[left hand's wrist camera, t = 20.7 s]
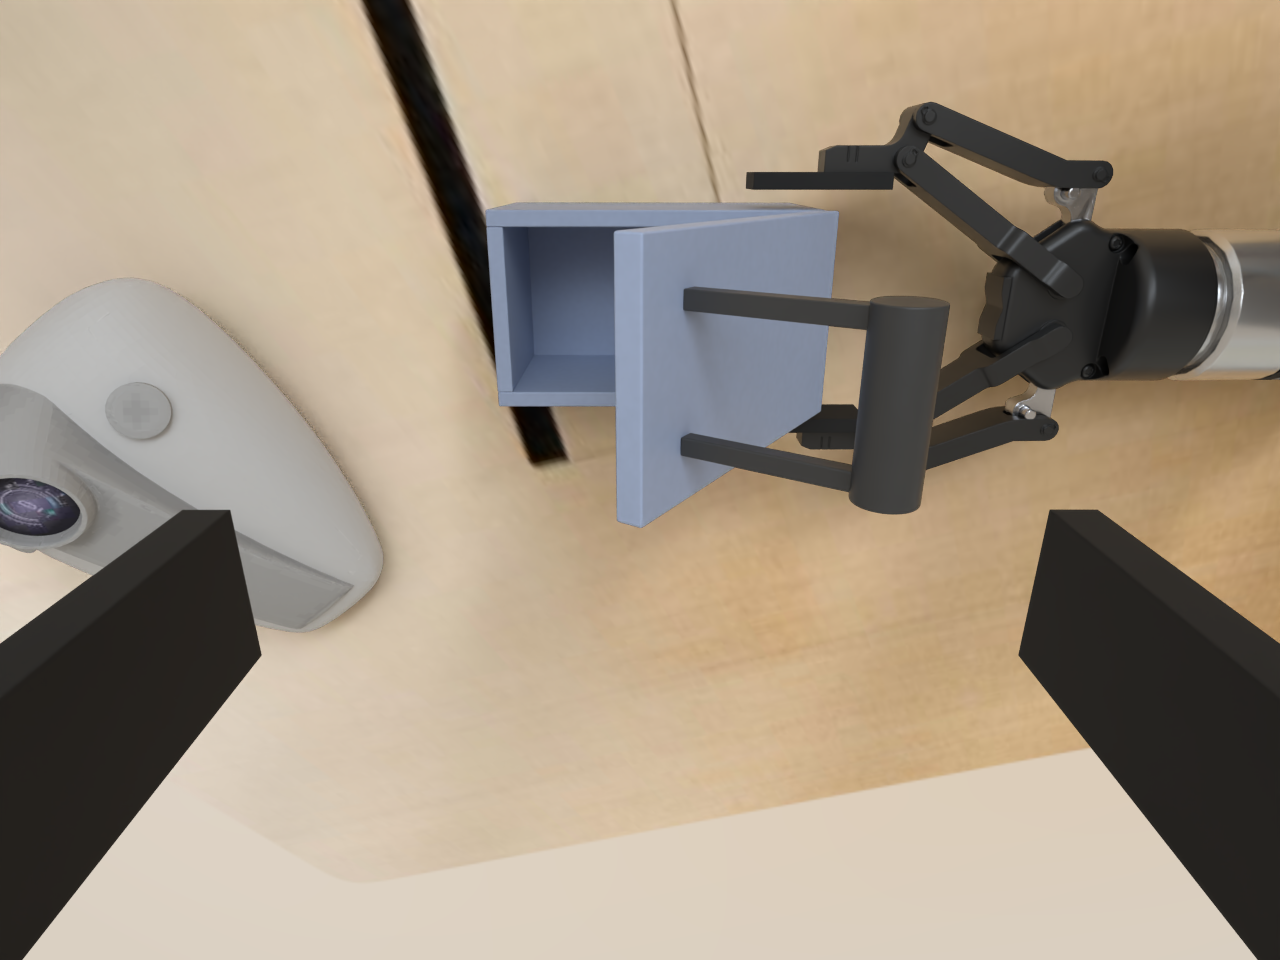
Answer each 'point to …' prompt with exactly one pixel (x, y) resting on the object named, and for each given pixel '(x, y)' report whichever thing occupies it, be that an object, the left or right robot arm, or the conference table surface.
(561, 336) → the chest
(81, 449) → the projector
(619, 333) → the lid
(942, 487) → the conference table surface
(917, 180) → the right robot arm
